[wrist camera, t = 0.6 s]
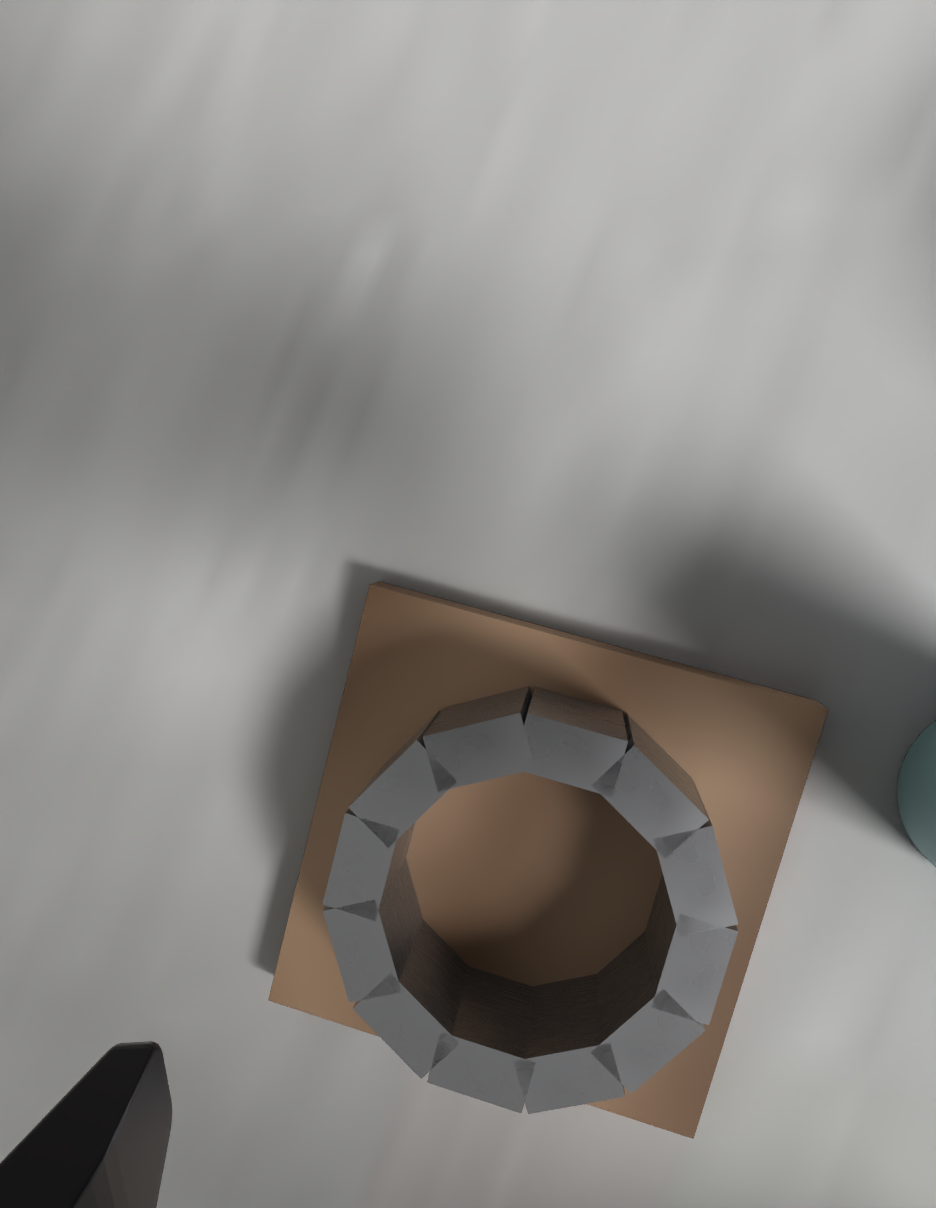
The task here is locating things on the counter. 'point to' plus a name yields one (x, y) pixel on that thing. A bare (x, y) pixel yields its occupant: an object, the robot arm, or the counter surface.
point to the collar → (500, 1005)
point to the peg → (920, 793)
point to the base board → (550, 815)
